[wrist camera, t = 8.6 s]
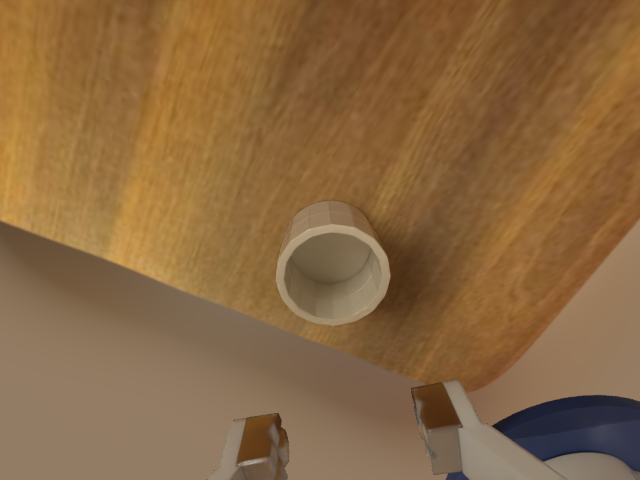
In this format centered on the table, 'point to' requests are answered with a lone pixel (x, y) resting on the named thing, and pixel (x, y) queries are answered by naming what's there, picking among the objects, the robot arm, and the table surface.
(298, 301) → the beige cup
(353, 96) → the table surface
